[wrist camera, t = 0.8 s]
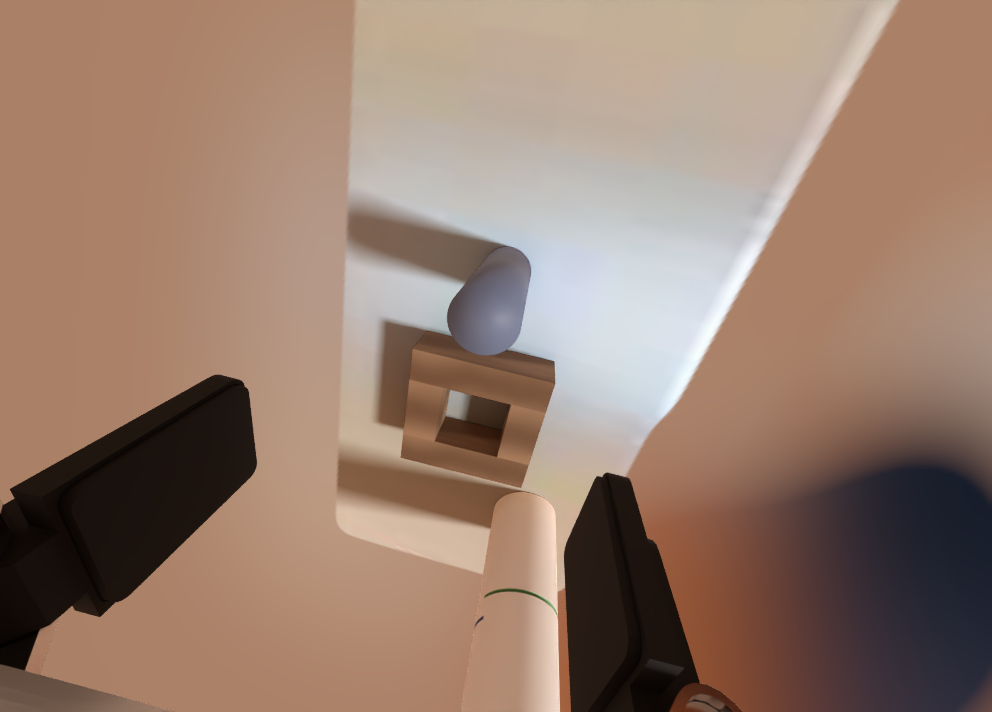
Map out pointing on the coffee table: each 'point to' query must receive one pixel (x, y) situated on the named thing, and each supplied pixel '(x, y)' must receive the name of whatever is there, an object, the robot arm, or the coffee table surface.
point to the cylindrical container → (517, 613)
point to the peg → (491, 303)
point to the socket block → (484, 376)
